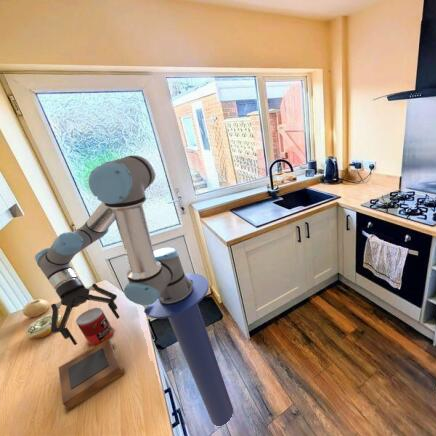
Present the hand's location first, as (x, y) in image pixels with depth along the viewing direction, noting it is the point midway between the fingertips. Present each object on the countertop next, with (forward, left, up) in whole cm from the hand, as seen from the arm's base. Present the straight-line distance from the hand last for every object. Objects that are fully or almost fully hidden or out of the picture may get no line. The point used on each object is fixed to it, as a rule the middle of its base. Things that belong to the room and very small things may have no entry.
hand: (98, 330), depth 90 cm
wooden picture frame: (+5, +14, -5) cm, 16 cm away
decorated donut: (+15, -26, -5) cm, 31 cm away
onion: (+17, -42, -5) cm, 46 cm away
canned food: (0, -2, -5) cm, 6 cm away
